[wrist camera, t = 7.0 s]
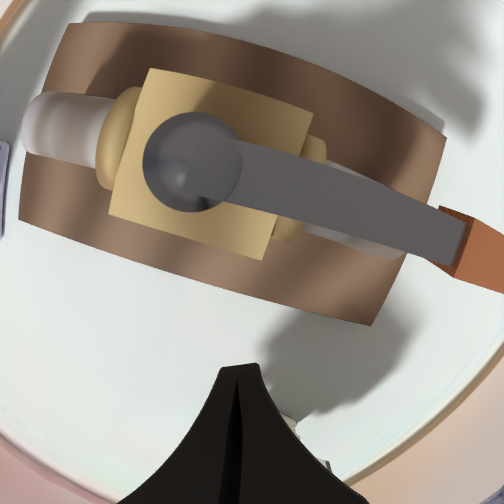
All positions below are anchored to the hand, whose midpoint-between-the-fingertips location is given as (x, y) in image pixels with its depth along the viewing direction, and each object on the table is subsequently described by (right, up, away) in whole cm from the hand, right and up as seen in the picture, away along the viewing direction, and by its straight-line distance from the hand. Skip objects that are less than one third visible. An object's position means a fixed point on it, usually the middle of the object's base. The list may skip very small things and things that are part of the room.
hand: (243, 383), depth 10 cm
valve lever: (+5, +6, 0) cm, 8 cm away
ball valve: (-2, +10, +6) cm, 12 cm away
